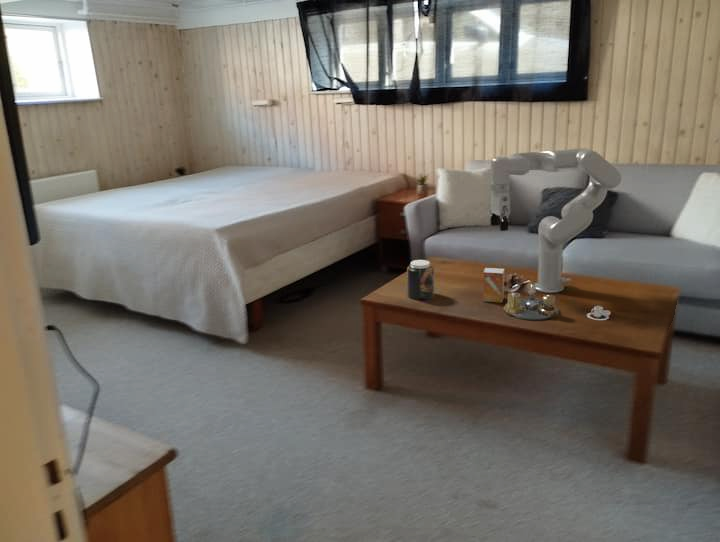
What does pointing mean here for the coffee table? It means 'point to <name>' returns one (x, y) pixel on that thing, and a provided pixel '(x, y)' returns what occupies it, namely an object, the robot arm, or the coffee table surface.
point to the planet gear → (514, 304)
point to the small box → (493, 285)
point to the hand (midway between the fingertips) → (499, 227)
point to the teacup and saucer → (599, 313)
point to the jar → (420, 280)
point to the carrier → (537, 307)
